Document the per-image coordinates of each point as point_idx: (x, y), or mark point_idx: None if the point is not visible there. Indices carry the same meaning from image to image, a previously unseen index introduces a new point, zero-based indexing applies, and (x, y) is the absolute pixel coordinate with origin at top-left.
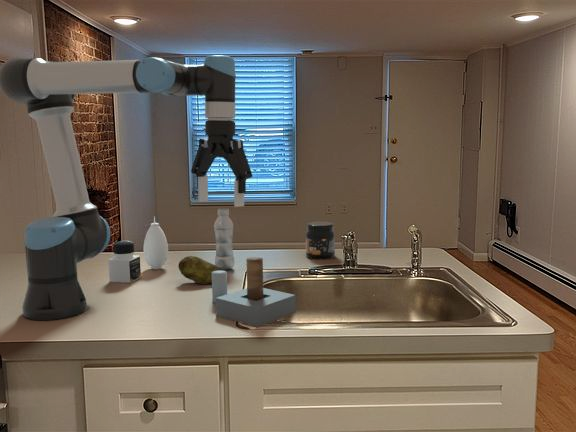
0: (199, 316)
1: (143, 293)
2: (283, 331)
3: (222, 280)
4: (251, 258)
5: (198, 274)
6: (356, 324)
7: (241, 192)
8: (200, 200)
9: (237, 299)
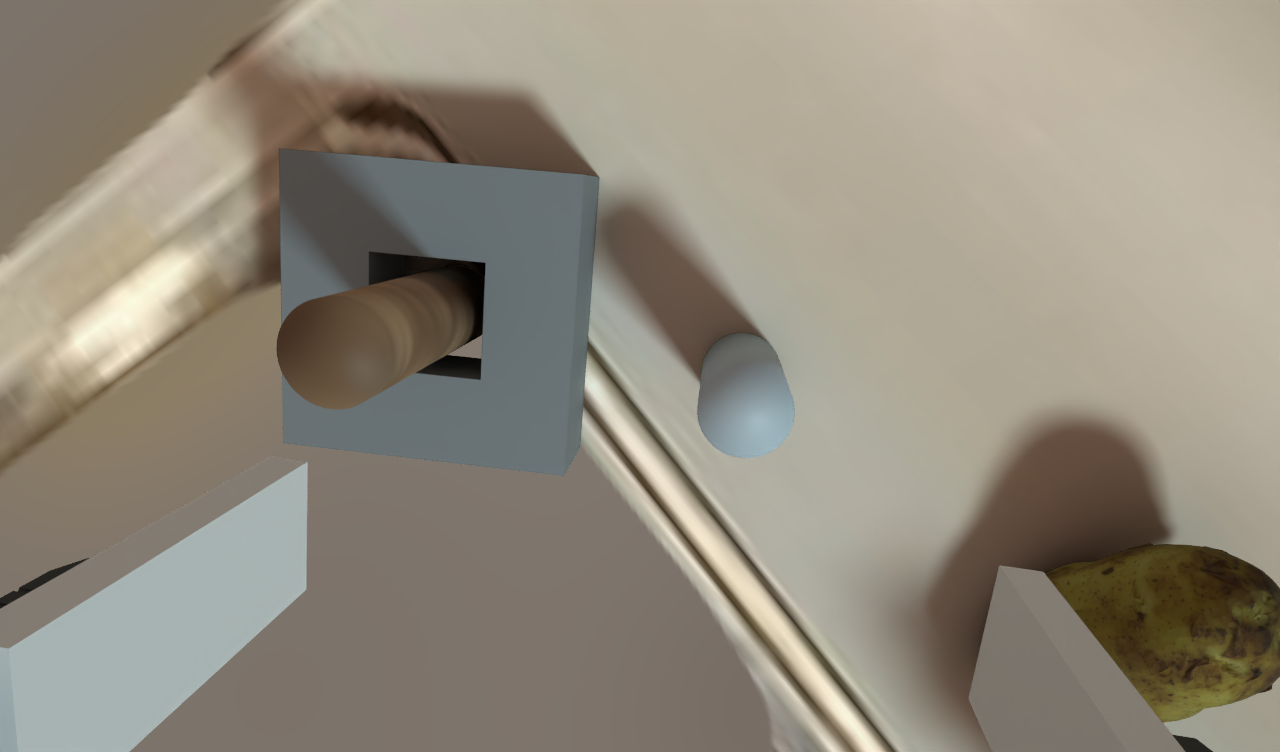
0: (660, 119)
1: (1252, 259)
2: (204, 174)
3: (703, 382)
4: (356, 353)
5: (1082, 577)
6: (39, 415)
7: (67, 566)
8: (1004, 580)
9: (464, 217)
